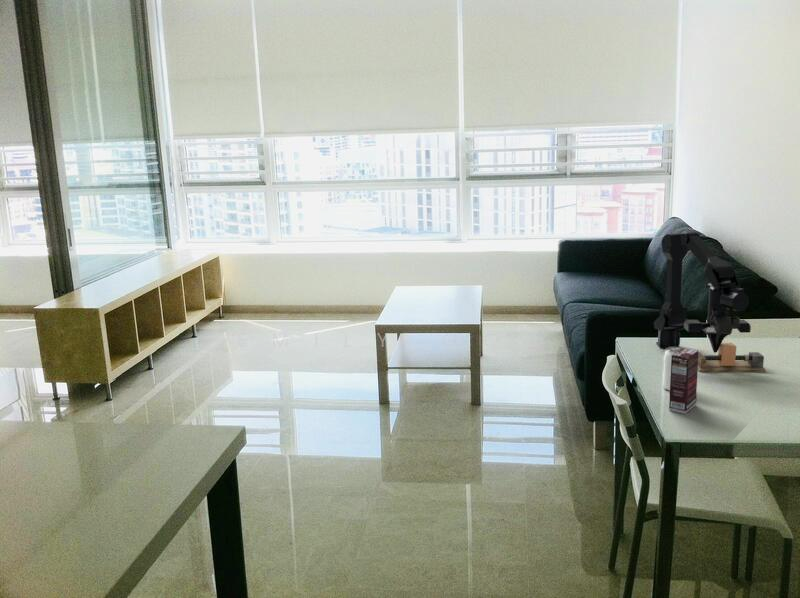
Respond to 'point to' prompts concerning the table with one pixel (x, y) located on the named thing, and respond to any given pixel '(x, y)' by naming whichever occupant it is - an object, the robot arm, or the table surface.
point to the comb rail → (749, 364)
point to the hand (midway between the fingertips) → (715, 352)
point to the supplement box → (683, 380)
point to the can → (668, 366)
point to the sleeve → (727, 354)
